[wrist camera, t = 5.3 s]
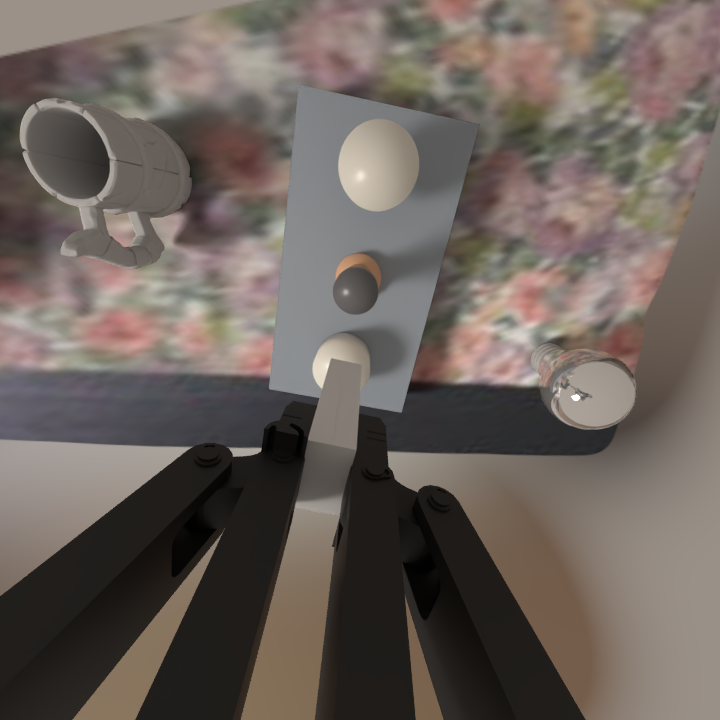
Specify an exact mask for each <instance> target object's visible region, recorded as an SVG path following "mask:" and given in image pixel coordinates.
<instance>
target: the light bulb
mask: <svg viewBox="0 0 720 720" xmlns="http://www.w3.org/2000/svg"><path fill="white" fill-rule="evenodd" d="M531 365H532V367H533V369H534V370H535V371H537V372H538V373H539V376H540V378H541V379H540V394H541V398H542V401H543V403H544V405H545V406H546V408H547V409H548V410H549V412H550V413H551V414H552V415H553V416H554V417H556V418H557V419H558V420H560V421H561V422H563V423H565V424H567V425H569V426H572V427H575V428H579V429H585V430H596V429H603V428H607V427H610V426H613V425H615V424H617V423H618V422H620V421H622V420H623V419H624V418H625V417H626V416H627V415H628V414H629V413H630V411H631V410H632V408H633V407H634V404H635V401H636V396H637V385H636V382H635V379H634V376H633V374H632V373H631V371H630V370H629V368H628V367H627V366H626V364H624V363H623V362H622V361H621V360H619V359H618V358H617V357H615V356H614V355H611V354H609V353H607V352H604V351H601V350H597V349H589V348H581V349H574V350H570V351H569V350H565V349H562V348H561V347H559V346H558V345H556V344H553V343H545V344H542V345H540V346H539V347H537V348H536V349H535V350H534V351H533V353H532V355H531Z"/></svg>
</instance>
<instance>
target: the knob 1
mask: <svg viewBox="0 0 720 720" xmlns="http://www.w3.org/2000/svg"><path fill="white" fill-rule="evenodd" d="M331 358H333V359H338V360H342V361H347V362H352V363H356V364H361V365H362V369H361V386H360V390H361V389H362V388H363V387H364V386H365V385H366V383H367V382H368V379H369V376H370V353H369V350H368V348H367V346H366V344H365V343H364V342H363V341H362V340H361V339H360V338H358V337H357V336H355V335H352V334H349V333H337V334H334V335H331V336H329V337H328V338H326V339H325V340H324V341H323V342H322V344H321V345H320V347H319V349H318V352H317V354H316V357H315V359H314V362H313V368H312V370H313V376H314V379H315V381H316V383H317V384H318V385H319V386H320V388H323V384H324V381H325V377H326V374H327V371H328V367H329V364H330V360H331Z"/></svg>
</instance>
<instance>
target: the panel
mask: <svg viewBox="0 0 720 720" xmlns="http://www.w3.org/2000/svg"><path fill="white" fill-rule="evenodd" d="M373 119H387V120H390V121H393V122H395V123H397V124H399V125H401V126H402V127H403V128H404V129H405V130H406V131H407V132H408V133H409V134H410V135H411V137H412V139H413V140H414V142H415V145H416V147H417V150H418V155H419V172H418V177H417V181H416V183H415V186H414V188H413V189H412V191H411V193H410V194H409V195H408V197H407V198H406V199H405V200H404V201H402V202H401V203H400V204H399V205H397V206H395V207H393V208H391V209H389V210H386V211H381V212H372V211H368V210H365V209H363V208H361V207H359V206H358V205H357V204H355V203H354V202H353V201H352V200H351V199H350V198H349V196H348V195H347V194H346V192H345V190H344V189H343V186H342V184H341V181H340V177H339V171H338V161H339V155H340V151H341V148H342V145H343V143H344V141H345V140H346V138H347V136H348V135H349V134H350V133H351V131H353V130H354V129H355V128H356V127H357V126H359V125H360V124H362V123H364V122H366V121H369V120H373ZM479 125H480V124H475V123H471V122H466V121H462V120H457V119H453V118H448V117H444V116H439V115H434V114H430V113H425V112H421V111H416V110H412V109H407V108H403V107H398V106H394V105H389V104H384V103H380V102H375V101H371V100H366V99H362V98H357V97H353V96H348V95H344V94H339V93H335V92H330V91H325V90H321V89H316V88H312V87H307V86H303V85H299V87H298V97H297V107H296V117H295V128H294V138H293V148H292V158H291V169H290V179H289V189H288V199H287V210H286V220H285V230H284V240H283V251H282V261H281V271H280V281H279V292H278V302H277V312H276V322H275V333H274V343H273V353H272V363H271V374H270V384H269V389H272V390H278V391H283V392H289V393H294V394H300V395H306V396H311V397H317V398H320V395H321V391H322V388H320V386H319V385H318V384H317V383H316V381H315V379H314V376H313V370H312V368H313V362H314V359H315V357H316V354H317V352H318V349H319V347H320V345H321V344H322V342H323V341H324V340H325V339H326V338H328V337H329V336H331V335H334V334H337V333H349V334H352V335H355V336H357V337H358V338H360V339H361V340H362V341H363V342H364V343H365V344H366V346H367V348H368V350H369V353H370V376H369V379H368V382H367V383H366V385H365V386H364V387H363V388H362V389H361V390H360V402H359V405H362V406H367V407H373V408H378V409H384V410H390V411H395V412H402V408H403V405H404V401H405V397H406V394H407V390H408V386H409V383H410V379H411V375H412V372H413V368H414V364H415V360H416V357H417V353H418V349H419V346H420V342H421V338H422V335H423V331H424V327H425V324H426V320H427V316H428V313H429V309H430V305H431V302H432V298H433V294H434V290H435V287H436V283H437V279H438V276H439V272H440V268H441V265H442V261H443V257H444V254H445V250H446V246H447V243H448V239H449V235H450V231H451V228H452V224H453V220H454V217H455V213H456V209H457V206H458V202H459V198H460V195H461V191H462V187H463V184H464V180H465V176H466V173H467V169H468V165H469V161H470V158H471V154H472V150H473V147H474V143H475V139H476V136H477V132H478V128H479ZM355 253H363V254H366V255H369V256H370V257H372V258H373V259H374V260H375V261H376V262H377V264H378V266H379V268H380V271H381V283H380V286H379V289H378V298H377V301H376V303H375V305H374V306H373V307H372V308H371V309H370V310H369V311H367V312H366V313H363V314H359V315H353V314H348V313H346V312H344V311H343V310H341V309H340V308H339V307H338V306H337V304H336V303H335V301H334V298H333V286H334V283H335V281H336V270H337V268H338V266H339V264H340V263H341V261H342V260H343V259H344V258H346V257H347V256H349V255H351V254H355Z"/></svg>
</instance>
